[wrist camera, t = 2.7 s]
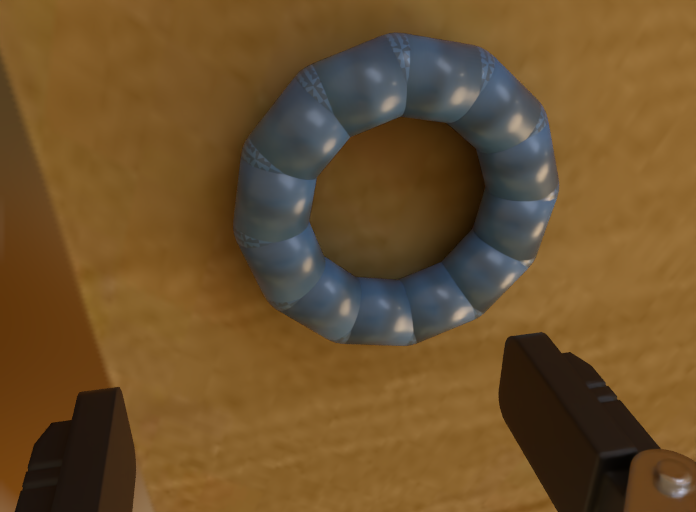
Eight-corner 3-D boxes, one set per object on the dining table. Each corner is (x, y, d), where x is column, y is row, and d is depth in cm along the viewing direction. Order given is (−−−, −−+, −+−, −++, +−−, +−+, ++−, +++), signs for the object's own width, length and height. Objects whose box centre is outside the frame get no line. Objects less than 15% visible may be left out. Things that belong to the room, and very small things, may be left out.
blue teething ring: (168, 225, 22) (166, 259, 20) (380, -48, 19) (403, -41, 17) (397, 363, 27) (415, 402, 25) (592, 160, 24) (630, 185, 22)
